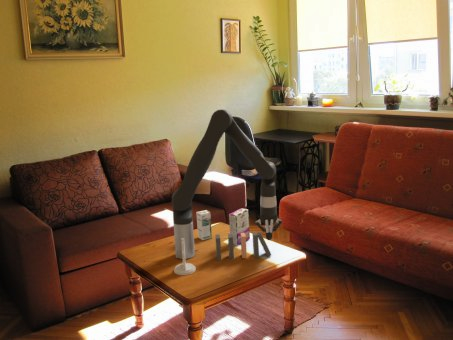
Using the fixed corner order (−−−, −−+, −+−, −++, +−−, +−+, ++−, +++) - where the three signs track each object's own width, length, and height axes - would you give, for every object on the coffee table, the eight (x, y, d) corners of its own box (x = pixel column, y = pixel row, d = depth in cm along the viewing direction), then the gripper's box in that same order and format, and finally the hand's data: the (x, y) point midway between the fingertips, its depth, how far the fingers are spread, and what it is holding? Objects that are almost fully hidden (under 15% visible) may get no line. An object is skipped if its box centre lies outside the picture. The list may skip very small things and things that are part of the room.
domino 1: (217, 260, 223) (215, 238, 221) (216, 256, 228) (215, 234, 226) (221, 260, 224) (220, 238, 221) (220, 255, 228) (219, 234, 226)
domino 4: (254, 257, 224) (253, 235, 222) (253, 253, 229) (252, 232, 227) (259, 257, 225) (257, 235, 222) (257, 253, 229) (256, 231, 227)
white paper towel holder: (173, 276, 209) (171, 244, 206) (174, 266, 219) (172, 236, 215) (195, 274, 210) (193, 242, 206) (195, 265, 219) (193, 234, 216)
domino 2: (229, 259, 224) (228, 237, 221) (228, 255, 229) (228, 233, 226) (233, 259, 224) (233, 237, 221) (233, 255, 229) (232, 233, 226)
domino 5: (267, 256, 225) (258, 237, 222) (265, 252, 230) (256, 233, 227) (271, 255, 225) (261, 235, 222) (269, 251, 230) (260, 231, 227)
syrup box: (202, 240, 249) (200, 214, 246) (197, 237, 254) (196, 211, 251) (212, 238, 252) (210, 212, 248) (207, 235, 257) (205, 209, 253)
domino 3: (242, 258, 224) (241, 236, 222) (241, 254, 229) (240, 233, 227) (246, 258, 224) (245, 236, 222) (245, 254, 229) (244, 232, 227)
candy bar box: (242, 237, 251) (241, 207, 247) (250, 239, 248) (249, 209, 244) (229, 244, 242) (228, 213, 239) (237, 246, 239) (236, 215, 236)
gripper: (280, 201, 226) (281, 235, 230) (253, 203, 225) (254, 237, 229) (283, 206, 218) (284, 241, 222) (255, 207, 218) (256, 243, 222)
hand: (268, 239), depth 226 cm, fingers closed
